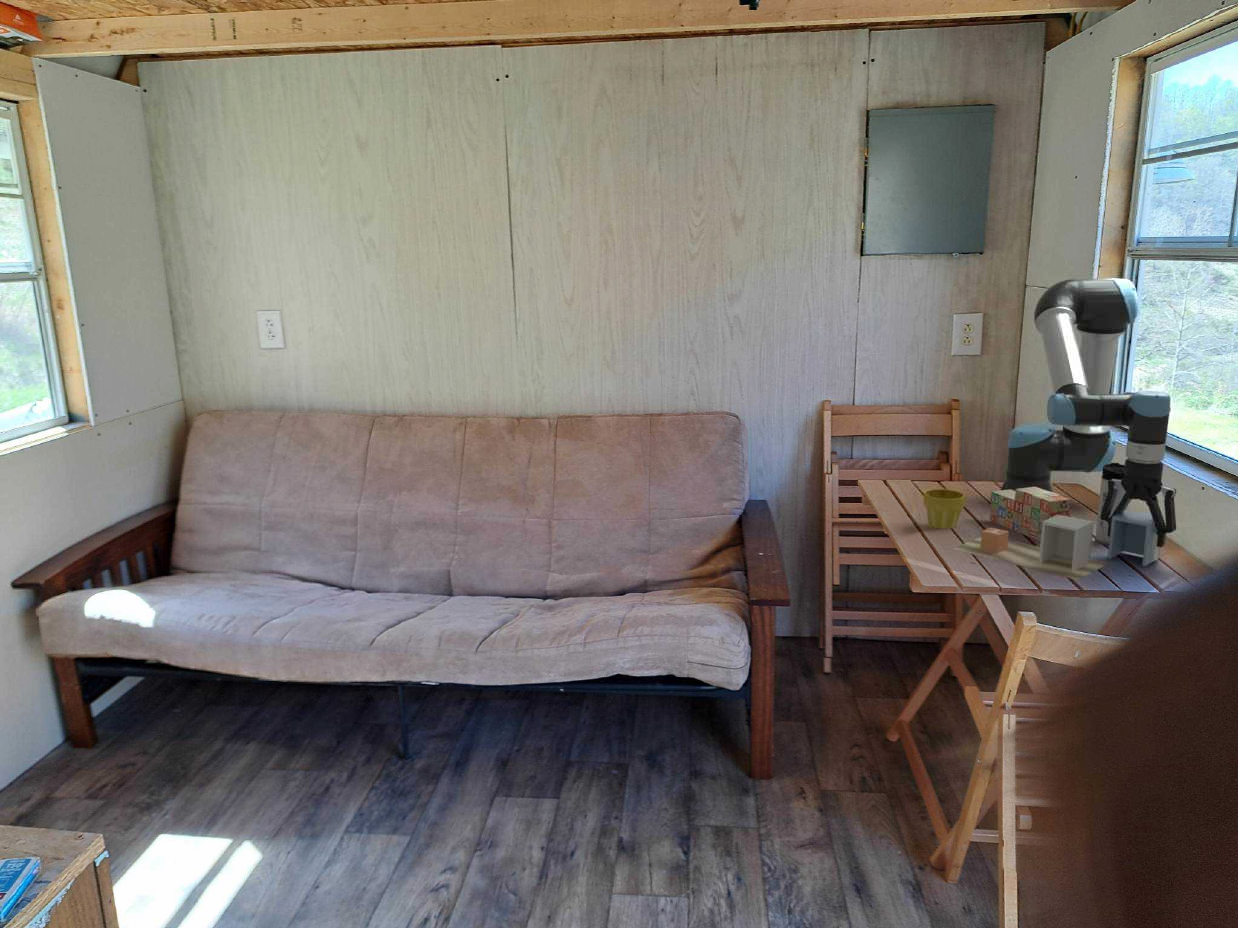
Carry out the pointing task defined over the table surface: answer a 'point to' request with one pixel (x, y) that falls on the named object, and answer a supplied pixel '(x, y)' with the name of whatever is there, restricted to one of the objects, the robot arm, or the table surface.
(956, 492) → the plant pot
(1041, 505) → the stack of blocks
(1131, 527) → the hollow pale blue box
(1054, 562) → the birch board
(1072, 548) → the box
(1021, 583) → the table surface
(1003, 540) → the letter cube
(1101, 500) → the travel mug
